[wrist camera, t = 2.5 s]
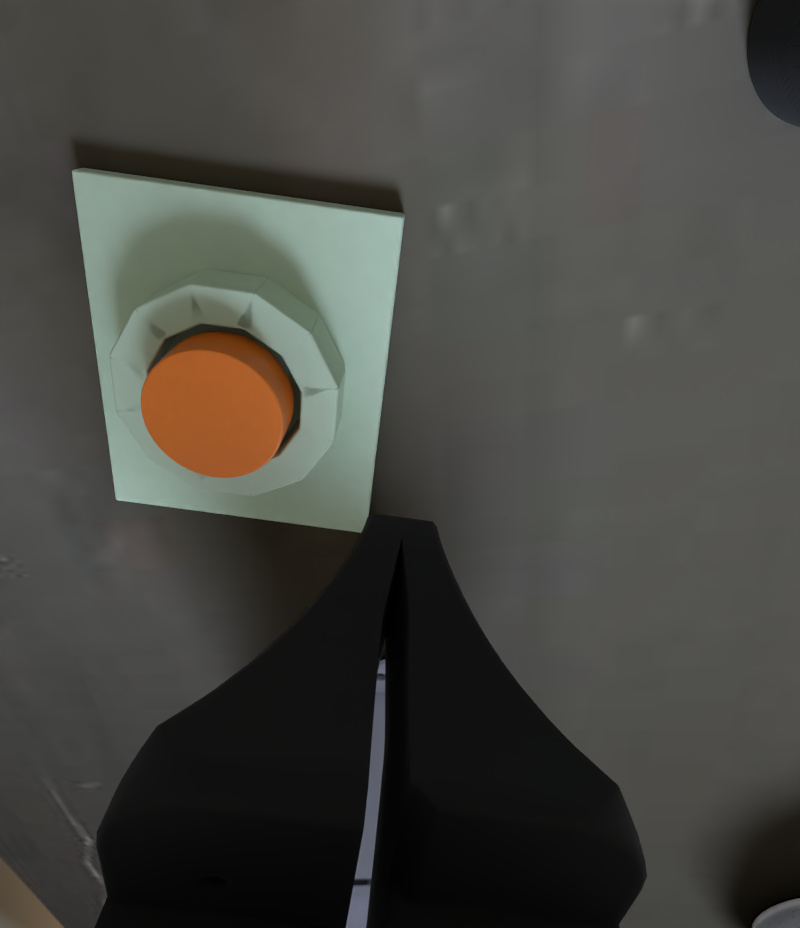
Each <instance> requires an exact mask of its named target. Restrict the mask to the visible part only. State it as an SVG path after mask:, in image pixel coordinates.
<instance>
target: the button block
mask: <svg viewBox="0 0 800 928" xmlns="http://www.w3.org/2000/svg"><path fill="white" fill-rule="evenodd" d="M72 178H73V185H74V192H75V200H76V207H77V215H78V222H79V229H80V237H81V244H82V252H83V259H84V266H85V274H86V281H87V289H88V296H89V303H90V311H91V318H92V326H93V333H94V340H95V348H96V355H97V363H98V370H99V378H100V385H101V392H102V400H103V407H104V415H105V422H106V429H107V437H108V444H109V452H110V459H111V466H112V474H113V481H114V489H115V496H116V500H120V501H128V502H135V503H143V504H150V505H158V506H165V507H173V508H180V509H188V510H195V511H202V512H210V513H217V514H225V515H232V516H240V517H247V518H255V519H262V520H270V521H277V522H284V523H292V524H299V525H307V526H314V527H322V528H329V529H337V530H344V531H352V532H359V533H361V532H362V530H363V528H364V526H365V523H366V520H367V517H368V516H369V509H370V501H371V493H372V484H373V476H374V468H375V459H376V451H377V443H378V435H379V426H380V418H381V410H382V401H383V393H384V385H385V377H386V368H387V360H388V352H389V343H390V335H391V327H392V318H393V310H394V302H395V294H396V285H397V277H398V269H399V260H400V252H401V244H402V235H403V227H404V219H405V215H404V214H403V213H399V212H392V211H385V210H378V209H371V208H364V207H357V206H350V205H343V204H336V203H329V202H322V201H315V200H308V199H301V198H294V197H287V196H280V195H272V194H265V193H258V192H251V191H244V190H237V189H230V188H223V187H216V186H209V185H202V184H195V183H188V182H181V181H174V180H167V179H160V178H153V177H146V176H139V175H131V174H124V173H117V172H110V171H103V170H96V169H89V168H79V169H74V170H72ZM208 331H222V332H229V333H234V334H238V335H241V336H244V337H246V338H248V339H250V340H253V341H254V342H256V343H258V344H259V345H261V346H262V347H264V348H265V349H266V350H267V351H269V352H270V353H271V354H272V355H273V356H274V357H275V358H276V360H277V361H278V362H279V363H280V364H281V366H282V368H283V369H284V371H285V372H286V374H287V376H288V378H289V381H290V384H291V387H292V391H293V396H294V409H293V415H292V419H291V422H290V424H289V426H288V429H287V431H286V433H285V435H284V437H283V439H282V442H281V444H280V446H279V448H278V450H277V452H276V453H275V455H274V456H273V457H272V458H271V460H270V461H269V462H268V463H266V464H265V465H264V466H263V467H261V468H260V469H258V470H256V471H254V472H252V473H249V474H247V475H243V476H239V477H233V478H217V477H210V476H205V475H202V474H198V473H196V472H193V471H191V470H188V469H186V468H185V467H183V466H181V465H179V464H178V463H176V462H175V461H173V460H172V459H171V458H170V457H168V456H167V455H166V454H165V453H164V452H163V451H162V450H161V449H160V448H159V447H158V445H157V444H156V443H155V442H154V440H153V439H152V437H151V435H150V434H149V432H148V430H147V428H146V425H145V423H144V419H143V416H142V411H141V393H142V388H143V384H144V382H145V380H146V377H147V375H148V374H149V372H150V371H151V370H152V368H153V367H154V366H155V365H156V364H157V363H158V362H159V361H160V360H161V359H162V358H163V357H164V356H165V355H166V354H168V353H169V352H170V351H171V350H172V349H173V348H174V347H175V346H176V345H177V344H178V343H180V342H181V341H182V340H184V339H186V338H188V337H190V336H192V335H195V334H198V333H202V332H208Z"/></svg>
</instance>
